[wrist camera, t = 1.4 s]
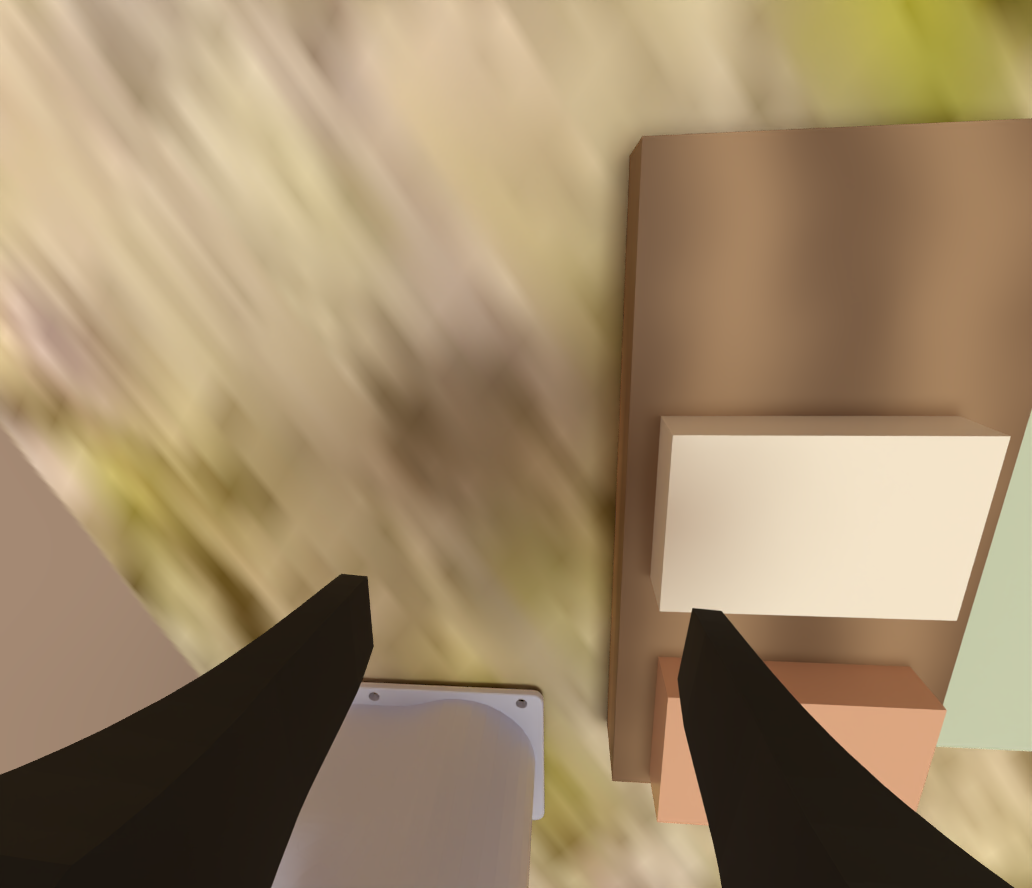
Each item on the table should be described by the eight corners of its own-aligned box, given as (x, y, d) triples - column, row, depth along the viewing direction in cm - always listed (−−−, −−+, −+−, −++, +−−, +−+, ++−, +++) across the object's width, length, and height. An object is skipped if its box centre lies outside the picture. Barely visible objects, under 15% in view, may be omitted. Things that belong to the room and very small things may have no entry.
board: (606, 722, 25) (612, 780, 22) (629, 156, 18) (642, 136, 15) (873, 736, 24) (914, 798, 21) (1025, 139, 16) (1120, 114, 14)
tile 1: (650, 576, 19) (659, 611, 17) (660, 416, 17) (672, 435, 15) (916, 583, 18) (956, 620, 16) (959, 416, 16) (1010, 436, 15)
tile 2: (649, 774, 22) (657, 821, 20) (658, 656, 20) (667, 697, 18) (877, 787, 21) (907, 838, 20) (910, 666, 19) (947, 710, 18)
